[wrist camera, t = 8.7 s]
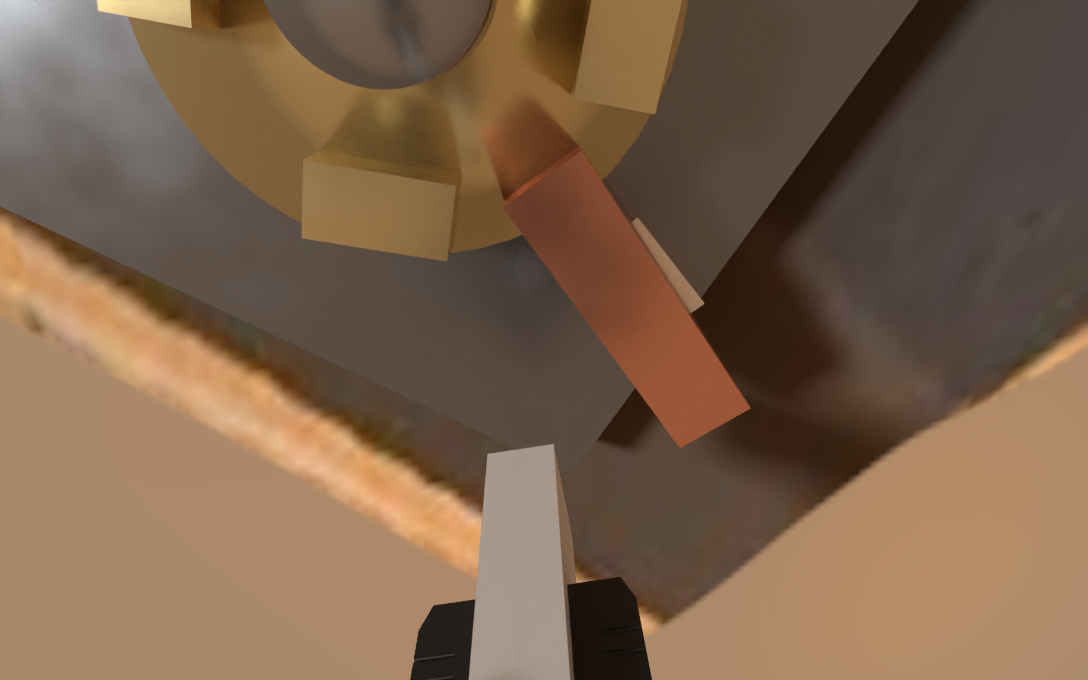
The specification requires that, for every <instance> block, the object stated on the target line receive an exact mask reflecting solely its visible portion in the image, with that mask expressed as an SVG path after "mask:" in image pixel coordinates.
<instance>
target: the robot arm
mask: <svg viewBox="0 0 1088 680" xmlns="http://www.w3.org/2000/svg"><path fill="white" fill-rule="evenodd" d="M410 680H652V677H651V672H650V668H649V662H648V657H647V652H646V647H645V641H644V636H643V631H642V626H641V621H640V616H639V610H638V605H637V600H636V597H635V596H634V595H633V593H632V592H631V590H630V589H629V588H628V586H627V585H626V584H625V582H624V581H623V580H622V578H621V577H616V578H609V579H603V580H596V581H589V582H582V583H576V576H575V565H574V554H573V544H572V534H571V529H570V524H569V519H568V514H567V509H566V504H565V499H564V494H563V489H562V484H561V479H560V474H559V469H558V463H557V458H556V453H555V448H554V444H550V445H543V446H537V447H531V448H524V449H518V450H511V451H505V452H499V453H492V454H488V456H487V468H486V480H485V492H484V504H483V516H482V528H481V540H480V551H479V563H478V575H477V588H476V599H475V600H469V601H462V602H455V603H448V604H441V605H434V606H433V607H432V609H431V611H430V613H429V614H428V616H427V618H426V619H425V621H424V623H423V624H422V626H421V628H420V630H419V632H418V638H417V644H416V650H415V655H414V663H413V667H412V673H411V679H410Z"/></svg>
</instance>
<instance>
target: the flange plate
mask: <svg viewBox="0 0 1088 680" xmlns="http://www.w3.org/2000/svg"><path fill="white" fill-rule="evenodd" d="M918 1H919V0H688V5H687V10H686V16H685V21H684V27H683V33H682V36H681V40H680V43H679V46H678V50H677V53H676V56H675V60H674V63H673V66H672V69H671V72H670V75H669V77H668V79H667V82H666V84H665V86H664V89H663V91H662V93H661V95H660V98H659V100H658V104H657V109H656V113H655V114H651V115H650V117H649V119H648V121H647V122H646V124H645V126H644V127H643V129H642V131H641V132H640V134H639V136H638V138H637V139H636V140H635V142H634V143H633V144H632V146H631V147H630V148H629V150H628V151H627V152H626V153H625V155H624V156H623V157H622V159H621V160H620V161H619V163H618V164H617V165H616V166H615V167H614V168H613V169H612V171H611V172H610V173H609V174H608V175H607V176H606V177H605V178H604V180H605V182H606V184H607V185H608V187H609V188H610V190H611V191H612V193H613V194H614V196H615V197H616V199H617V200H618V202H619V203H620V205H621V206H622V208H623V209H624V211H625V213H626V214H627V216H628V217H629V219H630V220H631V222H632V223H633V225H634V226H635V228H636V229H637V231H638V232H639V234H640V235H641V237H642V238H643V240H644V242H645V243H646V245H647V246H648V248H649V249H650V251H651V252H652V254H653V255H654V257H655V258H656V260H657V261H658V263H659V264H660V266H661V268H662V269H663V271H664V272H665V274H666V275H667V277H668V278H669V280H670V281H671V283H672V284H673V286H674V287H675V289H676V290H677V292H678V293H679V295H680V297H681V298H682V300H683V301H684V303H685V304H686V306H687V307H688V309H689V310H690V312H691V313H692V312H694V311H695V310H696V309H698V308H699V307H700V306H702V305H703V304H705V303H704V302H703V301H702V299H701V297H702V296H703V294H704V293H705V292H706V290H707V289H708V288H709V286H710V285H711V284H712V282H713V281H714V279H715V278H716V277H717V275H718V274H719V273H720V271H721V270H722V268H723V267H724V266H725V264H726V263H727V262H728V260H729V259H730V258H731V256H732V255H733V253H734V252H735V251H736V249H737V248H738V247H739V245H740V244H741V243H742V241H743V240H744V238H745V237H746V236H747V234H748V233H749V232H750V230H751V229H752V228H753V226H754V225H755V223H756V222H757V221H758V219H759V218H760V217H761V215H762V214H763V212H764V211H765V210H766V208H767V207H768V206H769V204H770V203H771V202H772V200H773V199H774V197H775V196H776V195H777V193H778V192H779V191H780V189H781V188H782V187H783V185H784V184H785V182H786V181H787V180H788V178H789V177H790V176H791V174H792V173H793V172H794V170H795V169H796V167H797V166H798V165H799V163H800V162H801V161H802V159H803V158H804V156H805V155H806V154H807V152H808V151H809V150H810V148H811V147H812V146H813V144H814V143H815V141H816V140H817V139H818V137H819V136H820V135H821V133H822V132H823V131H824V129H825V128H826V126H827V125H828V124H829V122H830V121H831V120H832V118H833V117H834V116H835V114H836V113H837V111H838V110H839V109H840V107H841V106H842V105H843V103H844V102H845V100H846V99H847V98H848V96H849V95H850V94H851V92H852V91H853V90H854V88H855V87H856V85H857V84H858V83H859V81H860V80H861V79H862V77H863V76H864V75H865V73H866V72H867V70H868V69H869V68H870V66H871V65H872V64H873V62H874V61H875V59H876V58H877V57H878V55H879V54H880V53H881V51H882V50H883V49H884V47H885V46H886V44H887V43H888V42H889V40H890V39H891V38H892V36H893V35H894V34H895V32H896V31H897V29H898V28H899V27H900V25H901V24H902V23H903V21H904V20H905V19H906V17H907V16H908V14H909V13H910V12H911V10H912V9H913V8H914V6H915V5H916V3H917V2H918ZM264 2H265V5H266V7H267V9H268V11H269V13H270V15H271V16H272V18H273V20H274V21H275V23H276V25H277V27H278V28H279V29H280V31H281V32H282V33H283V35H284V36H285V37H286V39H287V40H288V41H289V42H290V44H291V45H292V46H293V47H294V48H295V49H296V50H297V51H298V52H299V53H300V54H301V55H302V56H303V57H305V58H306V59H307V60H308V61H309V62H310V63H312V64H313V65H314V66H316V67H317V68H319V69H320V70H322V71H323V72H325V73H326V74H328V75H330V76H332V77H334V78H336V79H338V80H340V81H343V82H346V83H349V84H352V85H354V86H359V87H364V88H368V89H379V90H389V89H400V88H405V87H410V86H414V85H416V84H419V83H422V82H425V81H427V80H430V79H432V78H435V77H437V76H440V75H442V74H445V73H447V72H448V71H450V70H452V69H454V68H456V67H457V66H458V65H460V64H461V63H462V62H464V61H465V60H466V59H467V58H468V57H469V56H470V55H471V54H472V53H473V52H474V51H475V50H476V48H477V47H478V46H479V44H480V43H481V42H482V40H483V38H484V37H485V35H486V33H487V31H488V29H489V27H490V24H491V22H492V19H493V16H494V13H495V9H496V5H497V0H264ZM0 206H1V207H3V208H5V209H7V210H9V211H11V212H13V213H15V214H18V215H20V216H22V217H24V218H26V219H28V220H30V221H32V222H35V223H37V224H39V225H41V226H43V227H45V228H47V229H49V230H52V231H54V232H56V233H58V234H60V235H62V236H64V237H66V238H69V239H71V240H73V241H75V242H77V243H79V244H81V245H83V246H86V247H88V248H90V249H92V250H94V251H96V252H98V253H100V254H102V255H105V256H107V257H109V258H111V259H113V260H115V261H117V262H119V263H122V264H124V265H126V266H128V267H130V268H132V269H134V270H136V271H139V272H141V273H143V274H145V275H147V276H149V277H151V278H153V279H156V280H158V281H160V282H162V283H164V284H166V285H168V286H170V287H173V288H175V289H177V290H179V291H181V292H183V293H185V294H187V295H189V296H192V297H194V298H196V299H198V300H200V301H202V302H204V303H206V304H209V305H211V306H213V307H215V308H217V309H219V310H221V311H223V312H226V313H228V314H230V315H232V316H234V317H236V318H238V319H240V320H243V321H245V322H247V323H249V324H251V325H253V326H255V327H257V328H260V329H262V330H264V331H266V332H268V333H270V334H272V335H274V336H276V337H279V338H281V339H283V340H285V341H287V342H289V343H291V344H293V345H296V346H298V347H300V348H302V349H304V350H306V351H308V352H310V353H313V354H315V355H317V356H319V357H321V358H323V359H325V360H327V361H330V362H332V363H334V364H336V365H338V366H340V367H342V368H344V369H347V370H349V371H351V372H353V373H355V374H357V375H359V376H361V377H363V378H366V379H368V380H370V381H372V382H374V383H376V384H378V385H380V386H383V387H385V388H387V389H389V390H391V391H393V392H395V393H397V394H400V395H402V396H404V397H406V398H408V399H410V400H412V401H414V402H417V403H419V404H421V405H423V406H425V407H427V408H429V409H431V410H434V411H436V412H438V413H440V414H442V415H444V416H446V417H448V418H450V419H453V420H455V421H457V422H459V423H461V424H463V425H465V426H467V427H470V428H472V429H474V430H476V431H478V432H480V433H482V434H484V435H487V436H489V437H491V438H493V439H495V440H497V441H499V442H501V443H504V444H506V445H508V446H510V447H512V448H514V449H516V450H518V449H524V448H531V447H537V446H543V445H550V444H554V448H555V453H556V458H557V463H558V469H559V470H561V471H563V472H565V473H567V474H569V475H572V473H573V472H574V471H575V469H576V468H577V467H578V465H579V464H580V462H581V461H582V460H583V458H584V457H585V456H586V454H587V453H588V452H589V450H590V449H591V447H592V446H593V445H594V443H595V442H596V441H597V439H598V438H599V437H600V435H601V434H602V432H603V431H604V430H605V428H606V427H607V426H608V424H609V423H610V421H611V420H612V419H613V417H614V416H615V415H616V413H617V412H618V411H619V409H620V408H621V406H622V405H623V404H624V402H625V401H626V400H627V398H628V397H629V396H630V394H631V393H632V391H633V390H634V389H635V386H634V385H633V384H632V382H631V381H630V380H629V378H628V377H627V376H626V374H625V373H624V371H623V370H622V369H621V367H620V366H619V365H618V363H617V362H616V361H615V359H614V358H613V357H612V355H611V354H610V352H609V351H608V350H607V348H606V347H605V346H604V344H603V343H602V342H601V340H600V339H599V338H598V336H597V335H596V333H595V332H594V331H593V329H592V328H591V327H590V325H589V324H588V323H587V321H586V320H585V319H584V317H583V316H582V314H581V313H580V312H579V310H578V309H577V308H576V306H575V305H574V304H573V302H572V301H571V300H570V298H569V297H568V295H567V294H566V293H565V291H564V290H563V289H562V287H561V286H560V285H559V283H558V282H557V281H556V279H555V278H554V276H553V275H552V274H551V272H550V271H549V270H548V268H547V267H546V266H545V264H544V263H543V262H542V260H541V259H540V257H539V256H538V255H537V253H536V252H535V251H534V249H533V248H532V247H531V245H530V244H529V243H528V241H527V240H526V238H525V237H524V236H523V234H522V235H520V236H518V237H515V238H513V239H511V240H508V241H504V242H501V243H497V244H494V245H490V246H487V247H484V248H480V249H474V250H468V251H461V252H455V253H450V255H449V258H448V261H440V260H434V259H428V258H422V257H415V256H409V255H403V254H397V253H390V252H384V251H378V250H371V249H365V248H359V247H353V246H346V245H340V244H334V243H328V242H321V241H315V240H309V239H302V223H300V222H298V221H296V220H294V219H292V218H290V217H289V216H287V215H286V214H284V213H283V212H281V211H279V210H278V209H276V208H275V207H273V206H272V205H270V204H268V203H267V202H265V201H264V200H262V199H261V198H259V197H258V196H257V195H256V194H254V193H253V192H252V191H251V190H249V189H248V188H247V187H246V186H244V185H243V184H242V183H241V182H239V181H238V180H237V179H236V178H234V177H233V176H232V175H231V174H230V173H229V172H228V171H227V170H226V169H225V168H224V167H223V166H222V165H221V164H220V163H219V162H218V161H217V160H216V159H215V158H214V157H213V156H212V155H211V154H210V153H209V152H208V151H207V150H206V149H205V148H204V147H203V145H202V144H201V143H200V142H199V140H198V139H197V138H196V137H195V136H194V134H193V133H192V132H191V131H190V129H189V128H188V127H187V126H186V124H185V123H184V122H183V121H182V120H181V118H180V117H179V115H178V114H177V112H176V111H175V109H174V107H173V106H172V104H171V103H170V101H169V100H168V98H167V97H166V95H165V94H164V92H163V91H162V89H161V88H160V86H159V84H158V82H157V81H156V79H155V77H154V75H153V73H152V71H151V69H150V67H149V65H148V63H147V61H146V59H145V57H144V55H143V53H142V51H141V49H140V47H139V45H138V42H137V40H136V37H135V34H134V32H133V29H132V27H131V24H130V21H129V19H128V16H123V15H118V14H113V13H107V12H102V11H98V4H97V0H0Z"/></svg>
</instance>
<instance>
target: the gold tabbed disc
mask: <svg viewBox="0 0 1088 680" xmlns="http://www.w3.org/2000/svg"><path fill="white" fill-rule="evenodd" d="M97 4H98V11H102V12H107V13H113V14H118V15H123V16H128V19H129V21H130V24H131V27H132V29H133V32H134V34H135V37H136V40H137V42H138V45H139V47H140V49H141V51H142V53H143V55H144V57H145V59H146V61H147V63H148V65H149V67H150V69H151V71H152V73H153V75H154V77H155V79H156V81H157V82H158V84H159V86H160V88H161V89H162V91H163V92H164V94H165V95H166V97H167V98H168V100H169V101H170V103H171V104H172V106H173V107H174V109H175V111H176V112H177V114H178V115H179V117H180V118H181V120H182V121H183V122H184V123H185V124H186V126H187V127H188V128H189V129H190V131H191V132H192V133H193V134H194V136H195V137H196V138H197V139H198V140H199V142H200V143H201V144H202V145H203V147H204V148H205V149H206V150H207V151H208V152H209V153H210V154H211V155H212V156H213V157H214V158H215V159H216V160H217V161H218V162H219V163H220V164H221V165H222V166H223V167H224V168H225V169H226V170H227V171H228V172H229V173H230V174H231V175H232V176H233V177H234V178H236V179H237V180H238V181H239V182H241V183H242V184H243V185H244V186H246V187H247V188H248V189H249V190H251V191H252V192H253V193H254V194H256V195H257V196H258V197H259V198H261V199H262V200H264V201H265V202H267V203H268V204H270V205H272V206H273V207H275V208H276V209H278V210H279V211H281V212H283V213H284V214H286V215H287V216H289V217H290V218H292V219H294V220H296V221H298V222H300V223H302V239H309V240H315V241H321V242H328V243H334V244H340V245H346V246H353V247H359V248H365V249H371V250H378V251H384V252H390V253H397V254H403V255H409V256H415V257H422V258H428V259H434V260H440V261H448V258H449V255H450V253H455V252H461V251H468V250H474V249H480V248H484V247H487V246H490V245H494V244H497V243H501V242H504V241H508V240H511V239H513V238H515V237H518V236H520V235H522V234H523V236H524V237H525V238H526V240H527V241H528V243H529V244H530V245H531V247H532V248H533V249H534V251H535V252H536V253H537V255H538V256H539V257H540V259H541V260H542V262H543V263H544V264H545V266H546V267H547V268H548V270H549V271H550V272H551V274H552V275H553V276H554V278H555V279H556V281H557V282H558V283H559V285H560V286H561V287H562V289H563V290H564V291H565V293H566V294H567V295H568V297H569V298H570V300H571V301H572V302H573V304H574V305H575V306H576V308H577V309H578V310H579V312H580V313H581V314H582V316H583V317H584V319H585V320H586V321H587V323H588V324H589V325H590V327H591V328H592V329H593V331H594V332H595V333H596V335H597V336H598V338H599V339H600V340H601V342H602V343H603V344H604V346H605V347H606V348H607V350H608V351H609V352H610V354H611V355H612V357H613V358H614V359H615V361H616V362H617V363H618V365H619V366H620V367H621V369H622V370H623V371H624V373H625V374H626V376H627V377H628V378H629V380H630V381H631V382H632V384H633V385H634V386H635V388H636V389H637V390H638V392H639V393H640V395H641V396H642V397H643V399H644V400H645V401H646V403H647V404H648V405H649V407H650V408H651V409H652V411H653V412H654V414H655V415H656V416H657V418H658V419H659V420H660V422H661V423H662V424H663V426H664V427H665V428H666V430H667V431H668V433H669V434H670V435H671V437H672V438H673V439H674V441H675V442H676V443H677V445H678V446H679V447H680V448H681V447H683V446H685V445H686V444H688V443H690V442H692V441H694V440H695V439H697V438H699V437H701V436H702V435H704V434H706V433H708V432H709V431H711V430H713V429H715V428H717V427H718V426H720V425H722V424H724V423H725V422H727V421H729V420H731V419H733V418H734V417H736V416H738V415H740V414H741V413H743V412H745V411H747V410H749V409H750V406H749V405H748V403H747V401H746V400H745V398H744V396H743V395H742V393H741V391H740V390H739V388H738V386H737V385H736V383H735V381H734V380H733V378H732V376H731V375H730V373H729V371H728V370H727V368H726V366H725V365H724V363H723V361H722V360H721V358H720V356H719V355H718V353H717V351H716V350H715V348H714V347H713V345H712V344H711V342H710V341H709V339H708V338H707V336H706V335H705V333H704V332H703V330H702V329H701V327H700V326H699V324H698V322H697V321H696V319H695V318H694V316H693V315H692V313H691V312H690V310H689V309H688V307H687V306H686V304H685V303H684V301H683V300H682V298H681V297H680V295H679V293H678V292H677V290H676V289H675V287H674V286H673V284H672V283H671V281H670V280H669V278H668V277H667V275H666V274H665V272H664V271H663V269H662V268H661V266H660V264H659V263H658V261H657V260H656V258H655V257H654V255H653V254H652V252H651V251H650V249H649V248H648V246H647V245H646V243H645V242H644V240H643V238H642V237H641V235H640V234H639V232H638V231H637V229H636V228H635V226H634V225H633V223H632V222H631V220H630V219H629V217H628V216H627V214H626V213H625V211H624V209H623V208H622V206H621V205H620V203H619V202H618V200H617V199H616V197H615V196H614V194H613V193H612V191H611V190H610V188H609V187H608V185H607V184H606V182H605V180H604V178H605V177H606V176H607V175H608V174H609V173H610V172H611V171H612V169H613V168H614V167H615V166H616V165H617V164H618V163H619V161H620V160H621V159H622V157H623V156H624V155H625V153H626V152H627V151H628V150H629V148H630V147H631V146H632V144H633V143H634V142H635V140H636V139H637V138H638V136H639V134H640V132H641V131H642V129H643V127H644V126H645V124H646V122H647V121H648V119H649V117H650V115H651V114H655V113H656V109H657V104H658V100H659V98H660V95H661V93H662V91H663V89H664V86H665V84H666V82H667V79H668V77H669V75H670V72H671V69H672V66H673V63H674V60H675V56H676V53H677V50H678V46H679V43H680V40H681V36H682V33H683V27H684V21H685V16H686V10H687V5H688V0H497V5H496V9H495V13H494V16H493V19H492V22H491V24H490V27H489V29H488V31H487V33H486V35H485V37H484V38H483V40H482V42H481V43H480V44H479V46H478V47H477V48H476V50H475V51H474V52H473V53H472V54H471V55H470V56H469V57H468V58H467V59H466V60H465V61H464V62H462V63H461V64H460V65H458V66H457V67H456V68H454V69H452V70H450V71H448V72H447V73H445V74H442V75H440V76H437V77H435V78H432V79H430V80H427V81H425V82H422V83H419V84H416V85H414V86H410V87H405V88H400V89H389V90H379V89H368V88H364V87H359V86H354V85H352V84H349V83H346V82H343V81H340V80H338V79H336V78H334V77H332V76H330V75H328V74H326V73H325V72H323V71H322V70H320V69H319V68H317V67H316V66H314V65H313V64H312V63H310V62H309V61H308V60H307V59H306V58H305V57H303V56H302V55H301V54H300V53H299V52H298V51H297V50H296V49H295V48H294V47H293V46H292V45H291V44H290V42H289V41H288V40H287V39H286V37H285V36H284V35H283V33H282V32H281V31H280V29H279V28H278V27H277V25H276V23H275V21H274V20H273V18H272V16H271V15H270V13H269V11H268V9H267V7H266V5H265V2H264V0H97Z"/></svg>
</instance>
